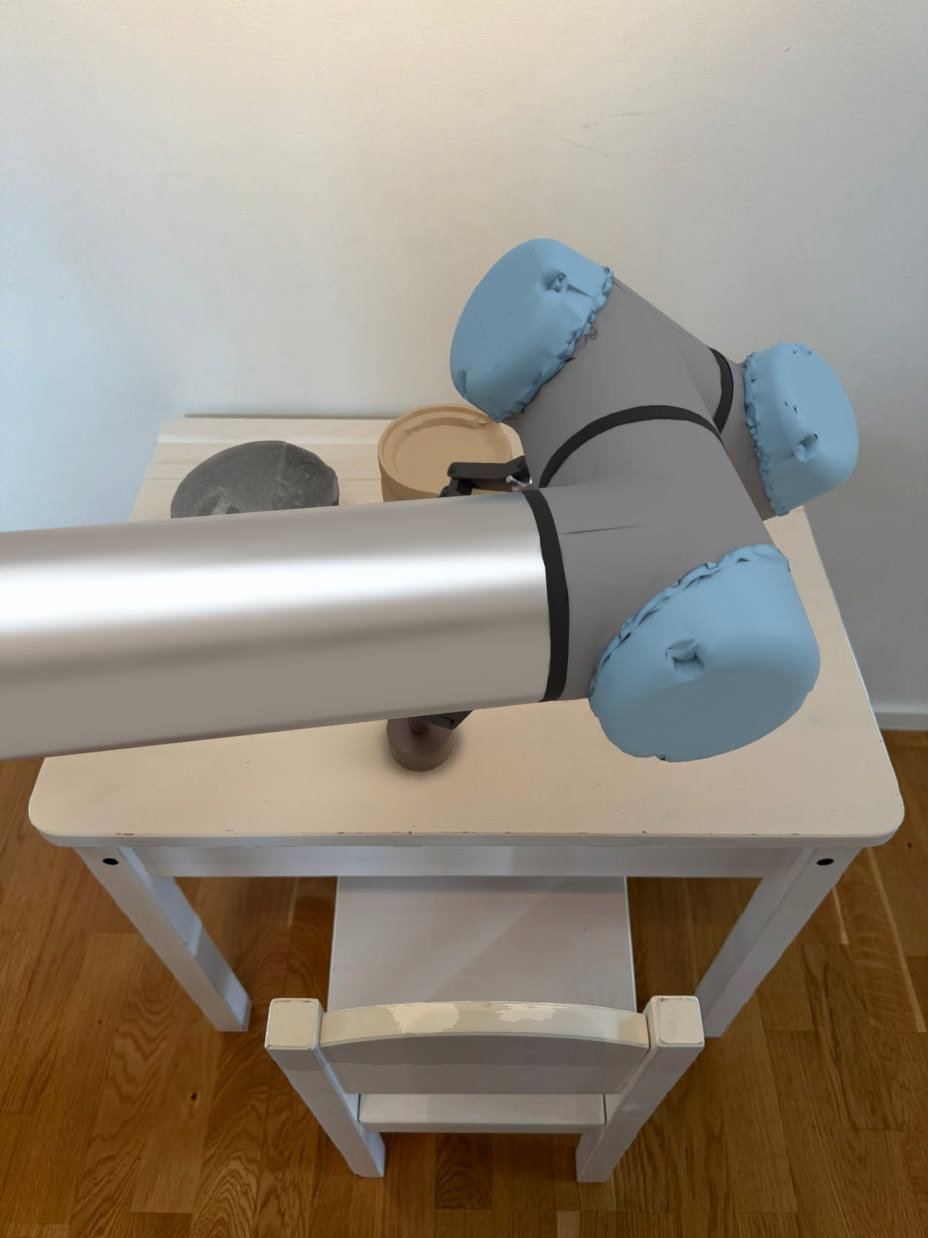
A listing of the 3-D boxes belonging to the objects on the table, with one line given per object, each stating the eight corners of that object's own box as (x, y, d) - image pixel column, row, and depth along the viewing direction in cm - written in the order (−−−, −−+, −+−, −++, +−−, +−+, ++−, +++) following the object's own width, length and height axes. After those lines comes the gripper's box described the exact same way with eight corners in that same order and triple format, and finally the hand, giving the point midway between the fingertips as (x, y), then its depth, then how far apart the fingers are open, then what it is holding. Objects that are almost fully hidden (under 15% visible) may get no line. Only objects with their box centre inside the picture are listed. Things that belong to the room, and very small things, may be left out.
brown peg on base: (399, 779, 78) (378, 651, 63) (382, 725, 82) (358, 591, 66) (461, 760, 79) (456, 629, 64) (442, 708, 83) (433, 571, 67)
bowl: (229, 477, 103) (212, 424, 97) (368, 502, 100) (360, 449, 94) (160, 588, 93) (136, 537, 86) (313, 620, 90) (300, 569, 83)
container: (511, 535, 97) (516, 405, 83) (505, 623, 89) (509, 497, 75) (400, 529, 98) (387, 400, 83) (385, 616, 90) (367, 490, 76)
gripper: (629, 740, 48) (412, 787, 64) (633, 384, 58) (445, 500, 74) (529, 705, 44) (324, 764, 60) (553, 329, 54) (372, 464, 70)
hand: (391, 618), depth 67 cm, fingers open, 13 cm apart
